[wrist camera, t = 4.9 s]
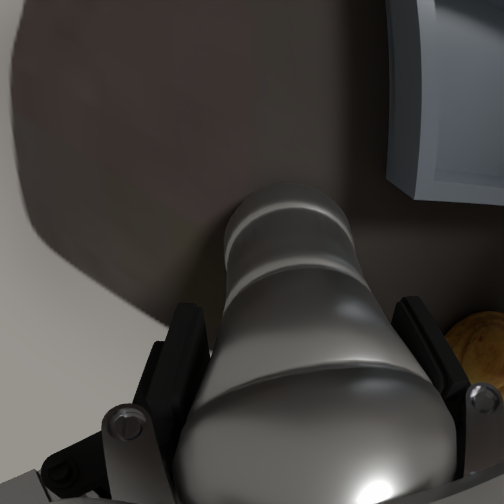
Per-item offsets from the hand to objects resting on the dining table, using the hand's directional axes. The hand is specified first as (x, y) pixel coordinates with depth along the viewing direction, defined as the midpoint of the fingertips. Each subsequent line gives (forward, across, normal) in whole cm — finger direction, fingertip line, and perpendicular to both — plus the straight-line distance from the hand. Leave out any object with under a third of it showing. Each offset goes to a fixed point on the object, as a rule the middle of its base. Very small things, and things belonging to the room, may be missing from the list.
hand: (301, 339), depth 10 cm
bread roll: (+10, -19, +12) cm, 24 cm away
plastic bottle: (+10, 0, 0) cm, 10 cm away
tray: (+10, -13, -10) cm, 19 cm away
